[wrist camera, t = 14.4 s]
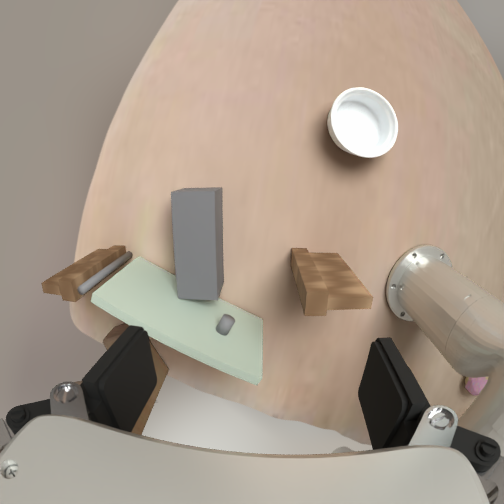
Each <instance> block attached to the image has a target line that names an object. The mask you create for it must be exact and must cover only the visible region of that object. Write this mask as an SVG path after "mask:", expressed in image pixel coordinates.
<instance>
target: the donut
mask: <svg viewBox="0 0 504 504" xmlns="http://www.w3.org/2000/svg"><path fill="white" fill-rule="evenodd" d="M488 377H489V376H488ZM488 377H479V378H471V377H466V379H465V384H466V386H465V388H466V389H467V390H468V391H469V392H470V393H471V394H472V395H479V393H480V392H481V390H482V389H483V388H484V386H485V385H486V383H487V381H488Z"/></svg>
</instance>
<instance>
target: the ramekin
mask: <svg viewBox="0 0 504 504" xmlns="http://www.w3.org/2000/svg"><path fill="white" fill-rule="evenodd" d="M327 125H328V130H329V134H330V136H331V138H332V140H333V141H334V142H335V144H336V145H337V146H338V147H339V148H341V149H342V150H344V151H346V152H348V153H350V154H353V155H357V156H360V157H365V158H374V157H379V156H381V155H383V154H385V153H387V152H388V151H389V150H390V149H391V148H392V146H393V145H394V143H395V141H396V138H397V134H398V122H397V118H396V115H395V112H394V110H393V108H392V106H391V105H390V104H389V102H388V101H387V100H386V99H385V98H384V97H383V96H381V95H380V94H378V93H377V92H375V91H373V90H370V89H367V88H360V87H357V88H351V89H348V90H346V91H344V92H343V93H341V94H340V95H339V96H338V97H337V98H336V100H335V101H334V103H333V106H332V108H331V110H330V112H329V114H328V120H327Z"/></svg>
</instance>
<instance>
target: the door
mask: <svg viewBox="0 0 504 504" xmlns="http://www.w3.org/2000/svg"><path fill="white" fill-rule="evenodd" d="M131 257H132V253H131V252H130V251H128V252H127V253H125V254H124V255H122V256H121V257H119V258H118V259H116V260H115V261H113V262H112V263H111V264H109V265H108V266H106V267H105V268H104V269H102V270H101V271H99V272H98V273H97V274H95V275H94V276H92V277H91V278H90V279H88V280H87V281H85V282H84V283H83V284H81V285H80V286H79V287H78V289H77V290H78V292H79V294H81V295H83V294H85V293H86V292H87V291H88V290H90V289H91V288H92V287H93V286H95V285H96V284H97V283H99V282H100V281H101V280H102V279H104V278H105V277H106V276H108V275H109V274H110V273H111V272H113V271H114V270H115V269H117V268H118V267H119V266H121V265H122V264H123V263H125V262H126V261H127V260H129V259H130V258H131ZM91 302H92V303H93V304H95V305H96V306H98V307H100V308H101V309H103V310H105V311H106V312H108V313H109V314H111V315H113V316H114V317H116V318H118V319H119V320H121V321H123V322H125V323H126V324H128V325H133V326H140V327H143V328H144V330H145V331H147V333H148V336H150V337H152V338H153V339H155V340H157V341H159V342H161V343H163V344H165V345H167V346H169V347H171V348H173V349H175V350H177V351H179V352H181V353H183V354H185V355H187V356H189V357H191V358H193V359H196V360H198V361H200V362H202V363H204V364H207V365H209V366H211V367H213V368H216V369H218V370H220V371H222V372H225V373H227V374H230V375H232V376H234V377H237V378H239V379H242V380H244V381H247V382H249V383H252V384H254V385H258V383H259V382H260V381H261V380H262V360H263V319H261V318H259V317H257V316H255V315H253V314H251V313H249V312H247V311H245V310H242V309H240V308H238V307H236V306H234V305H232V304H230V303H228V302H226V301H224V300H222V299H220V298H218V300H198V299H179V298H178V292H177V281H176V276H175V275H173V274H171V273H169V272H168V271H166V270H164V269H162V268H160V267H158V266H156V265H155V264H153V263H151V262H149V261H147V260H145V259H144V258H142V257H140V256H138V257H137V258H136V259H135V260H133V261H132V262H131V263H129V264H128V265H127V266H126V267H124V268H123V269H122V270H121V271H119V272H118V273H117V274H116V275H114V276H113V277H112V278H111V279H109V280H108V281H107V282H106V283H104V284H103V285H102V286H101V287H100V288H98V289H97V290H96V291H95V292H93V294H92V298H91Z"/></svg>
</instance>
